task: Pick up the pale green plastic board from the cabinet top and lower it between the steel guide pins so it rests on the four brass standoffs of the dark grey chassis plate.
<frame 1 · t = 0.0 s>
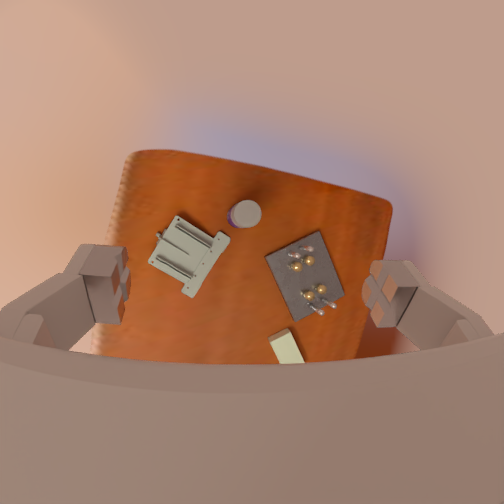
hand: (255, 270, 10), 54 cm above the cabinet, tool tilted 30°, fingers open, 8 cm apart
metal bracket: (186, 252, 63), on the cabinet
container: (237, 216, 64), on the cabinet
board: (285, 349, 68), on the cabinet
chassis: (305, 276, 67), on the cabinet
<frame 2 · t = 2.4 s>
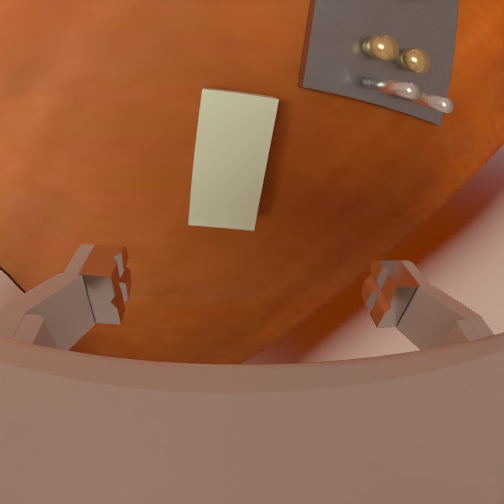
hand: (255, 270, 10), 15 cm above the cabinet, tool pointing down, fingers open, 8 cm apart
board: (228, 152, 23), on the cabinet
chassis: (386, 18, 17), on the cabinet
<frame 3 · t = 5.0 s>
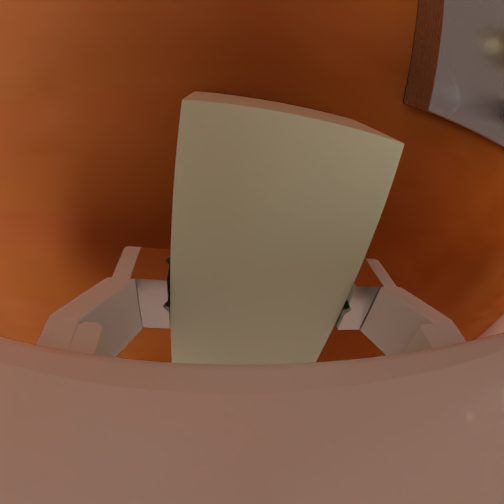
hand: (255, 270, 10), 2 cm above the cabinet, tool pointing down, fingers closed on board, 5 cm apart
board: (250, 242, 11), on the cabinet, touching gripper
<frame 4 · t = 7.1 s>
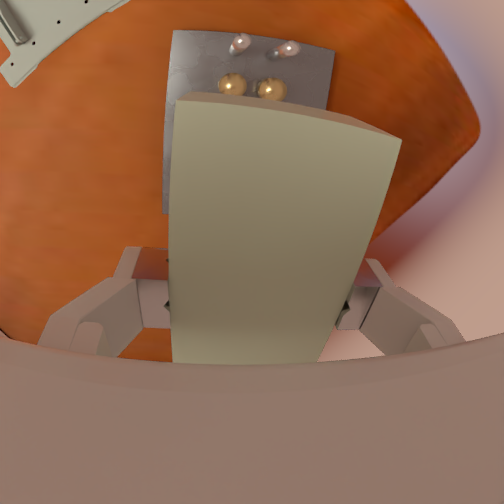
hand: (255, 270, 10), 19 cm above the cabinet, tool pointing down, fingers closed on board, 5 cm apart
board: (250, 242, 11), point 17 cm above the cabinet, touching gripper
chassis: (243, 126, 24), on the cabinet
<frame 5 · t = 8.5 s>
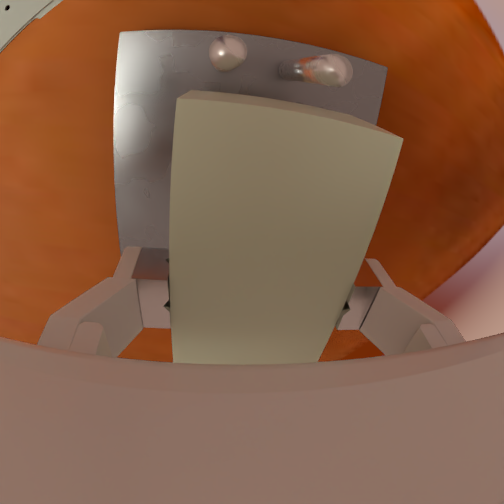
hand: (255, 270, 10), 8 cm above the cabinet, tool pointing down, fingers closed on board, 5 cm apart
board: (250, 241, 11), point 7 cm above the cabinet, touching gripper
chassis: (238, 183, 17), on the cabinet
when the fingers open (6 cm above the cabinet, at t = 9.7 s): board stays where it is, resting on chassis.
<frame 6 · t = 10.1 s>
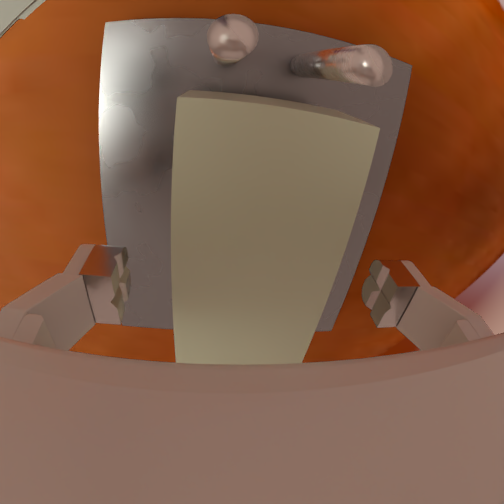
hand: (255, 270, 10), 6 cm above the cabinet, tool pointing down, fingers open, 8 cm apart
board: (246, 228, 12), point 3 cm above the cabinet, touching chassis
chassis: (242, 194, 15), on the cabinet
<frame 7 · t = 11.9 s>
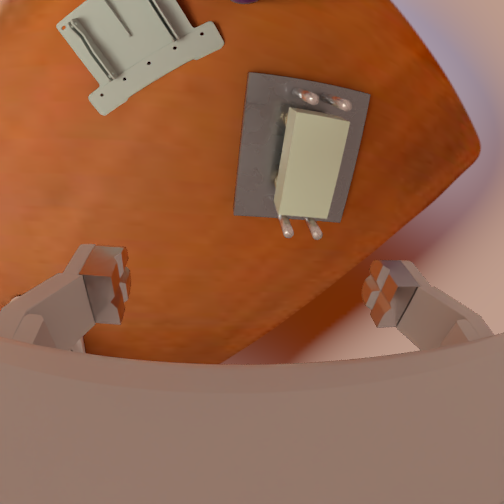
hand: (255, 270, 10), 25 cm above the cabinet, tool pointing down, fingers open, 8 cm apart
metal bracket: (134, 33, 23), on the cabinet
board: (305, 158, 29), point 3 cm above the cabinet, touching chassis
chassis: (298, 149, 32), on the cabinet
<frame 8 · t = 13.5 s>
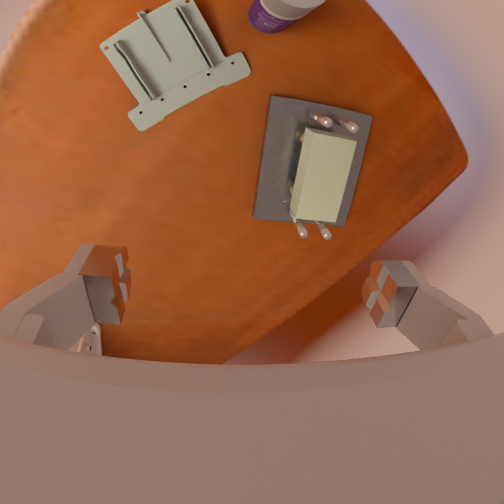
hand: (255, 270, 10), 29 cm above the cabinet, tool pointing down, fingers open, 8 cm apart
metal bracket: (170, 58, 29), on the cabinet
container: (268, 16, 27), on the cabinet
board: (317, 171, 35), point 3 cm above the cabinet, touching chassis
chassis: (310, 163, 38), on the cabinet
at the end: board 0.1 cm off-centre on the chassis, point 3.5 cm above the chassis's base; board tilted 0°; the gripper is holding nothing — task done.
